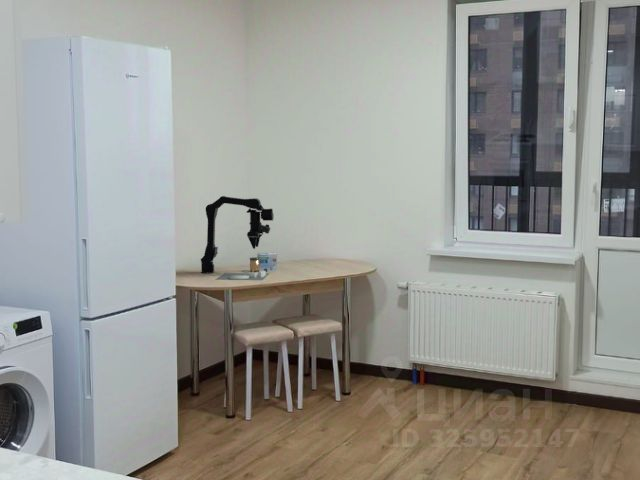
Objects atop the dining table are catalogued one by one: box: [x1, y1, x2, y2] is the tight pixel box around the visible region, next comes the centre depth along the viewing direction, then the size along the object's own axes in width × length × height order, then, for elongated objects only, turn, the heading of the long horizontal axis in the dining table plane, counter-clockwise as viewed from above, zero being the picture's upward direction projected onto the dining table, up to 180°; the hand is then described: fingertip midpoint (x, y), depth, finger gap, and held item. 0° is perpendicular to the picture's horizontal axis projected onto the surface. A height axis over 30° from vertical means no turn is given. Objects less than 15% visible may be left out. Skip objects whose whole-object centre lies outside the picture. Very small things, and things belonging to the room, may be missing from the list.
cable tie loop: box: [243, 270, 267, 277], centre depth 430 cm, size 11×9×3 cm
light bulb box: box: [257, 252, 278, 273], centre depth 448 cm, size 11×7×11 cm, turn 105°
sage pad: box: [229, 275, 249, 281], centre depth 422 cm, size 11×11×1 cm
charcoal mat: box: [215, 272, 270, 281], centre depth 428 cm, size 26×24×1 cm
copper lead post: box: [249, 256, 259, 273], centre depth 430 cm, size 5×5×10 cm
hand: (255, 247), depth 442 cm, fingers open, 9 cm apart
